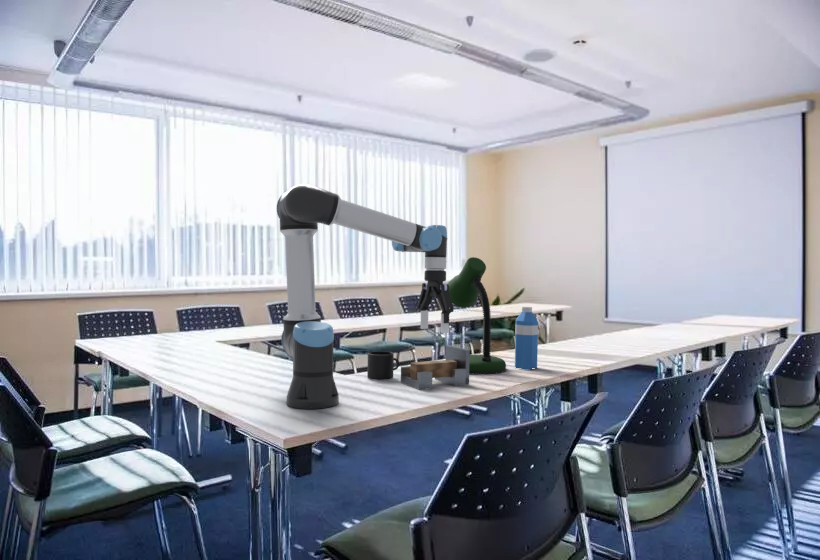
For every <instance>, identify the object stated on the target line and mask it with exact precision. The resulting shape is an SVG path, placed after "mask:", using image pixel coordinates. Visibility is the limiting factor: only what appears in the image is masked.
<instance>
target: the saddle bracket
mask: <svg viewBox="0 0 820 560" xmlns="http://www.w3.org/2000/svg"><path fill="white" fill-rule="evenodd" d="M400 383H401V384H403V385H405V386H409V387H411V388H413V389H416V390H419V391H420V390H421V391H422V390H428V389H431V390H432V389H433V378H432V372H431V371H428V372H417V379H414V378H411V377H410V365H408V366H401V367H400Z"/></svg>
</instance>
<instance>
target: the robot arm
mask: <svg viewBox="0 0 820 560" xmlns="http://www.w3.org/2000/svg"><path fill="white" fill-rule="evenodd" d="M276 213H277V214H276V215H277V217H278V219H279V232H280V233H281V234H282V235H283V236H284V237H285V243H284V244H285V263H286V265H285V267H286V268H285V269H286V288H287V289H286V290H287V292H286V293H287V313H286V315H284V317H283V318H282V321H283V331H282V333H281V341H280V342H281V345H282V348H283V350H284V352H285V353H286V354H287V355H288V356H289V357H290V358H292V380H291V382H290V385H289V388H288V390H287V395H286V405H287V406H289V407H290V408H295V409H301V410H302V409H304V410H305V409H306V410H319V409H324V408H325V409H326V408H330V407H334V406H337V405H338V404H339V400H340V399H339V398H340V396H339V391H338V388H337V385H336V381H335V378H334V343H335V342H334V341H335V334H334V327H333V326H332V325H331V324H329V323H327V322H322V320H321V319H322V317H321V316H320V315H319V314H318V312H317V311H316V286H315V285H316V284H315V257H314V253H315V252H314V235H316V234H317V232H318V231H319V230H318V225H319V224H322V225H326V226H331V225H333V224H334V225H338V226H342V227H344V228H347V229H351V230H355V231H357V232H361V233H364V234H367V235H370V236H374V237H378V238H380V239H384V240H387V241H391V246H392V249H393V250H394V251H395V252H401V253H405V252H406V253H424V269H425V270H424V281H425V282H423V283H422V285H421V291H420V296H419V298H418V302H417V306H416V307H417V309H419V310H420V330H428V329H429V306H430V304H431V302H432V300H433V298H435V299H437V301H438V304H439V307H440V309H441V313H440V334H449V332H450V328H449V327H450V314H451V313H453V312H454V311H455V310H454V306H453V305H454V304H452V301H451V297H450V293H449V285H448V283H446V284H445V283H444V282H446V281H447V271H446V269H447V254H448V253H447V250H448V249H447V248H448V247H447V245H448V231H447V230H448V229H447V227H446V225H441V224H430V225H428V224H427V225H426V226H424V225H421V224H418V223H415V222H411V221H410V220H406V219H404V218H403V219H402V218H400V217H396V216H393V215H390V214H389V213H384V212H381V211H378V210H375V209H372V208H369V207H366V206H363V205H360V204H357V203H353V202H351V201H347V200H345V199H342V198H341V197H340V195H339V194H338V193H334V192H332V191H329V190H326V189H323V188H320V187H317V186H316V185H313V184H308V183H299V184H297V185H294V186H292V187H291V188H289V189H286V190H285V191H284V192H283V193H282V194H281V195H280V196H279V197H278V200H277V203H276Z"/></svg>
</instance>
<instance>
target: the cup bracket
mask: <svg viewBox="0 0 820 560" xmlns="http://www.w3.org/2000/svg"><path fill="white" fill-rule="evenodd" d="M470 351H471V350H470V349H467V348H463V347H459V346H453V345H449V344H448V345H447V344H446V345H445V360H453V361H456V362H457V369H453V370H452V376H450V377H438V378H434V380H436V381H438V382H441V383H445V384H448V385H451V386H453V387H458V386H468V385H470V374H469V360H470V355H471V353H470Z"/></svg>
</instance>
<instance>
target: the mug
mask: <svg viewBox="0 0 820 560" xmlns="http://www.w3.org/2000/svg"><path fill="white" fill-rule="evenodd" d="M394 362H396V365H395V367H394ZM399 367H400V361H399V360H398V359H397V358H396V357H394V352H392V351H385V350H384V351H382V350H381V351H380V350H379V351H378V350H377V351H370V352H368V353H367V371H366V372H367V379H369V380H372V381H373V380H374V381H387V380H388V381H389V380H391V379H394V371H396V370H398V368H399Z"/></svg>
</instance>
